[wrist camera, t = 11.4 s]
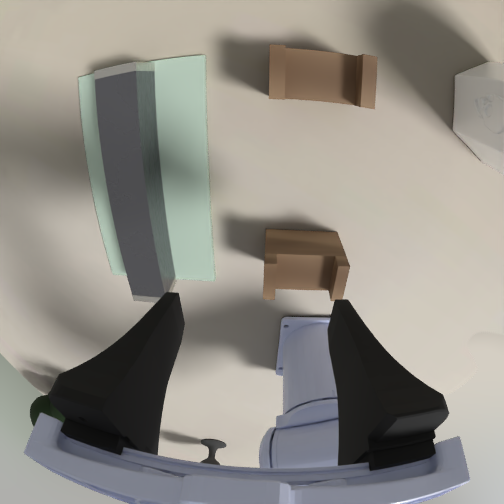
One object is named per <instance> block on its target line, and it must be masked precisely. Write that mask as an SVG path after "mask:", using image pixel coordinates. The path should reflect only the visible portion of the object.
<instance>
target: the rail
mask: <svg viewBox="0 0 504 504" xmlns="http://www.w3.org/2000/svg"><path fill="white" fill-rule="evenodd" d="M94 80H95V93H96V107H97V118H98V128H99V137H100V145H101V153H102V160H103V167H104V173H105V179H106V185H107V191H108V196H109V201H110V207H111V212H112V216H113V221H114V226H115V230H116V235H117V239H118V243H119V247H120V251H121V255H122V259H123V263H124V267H125V270H126V274H127V278H128V281H129V285H130V288H131V291H132V296H133V299H134V301H144V302H154V303H157V301H158V300H159V299H160V298H161V297H162V296H163V295H164V294H165V293H166V292H172V291H173V288H174V286H175V284H176V281H177V280H176V275H175V270H174V264H173V258H172V252H171V246H170V239H169V232H168V225H167V218H166V210H165V202H164V194H163V185H162V176H161V166H160V156H159V144H158V131H157V117H156V98H155V63H147V62H137V61H136V62H131V63H126V64H121V65H116V66H112V67H108V68H104V69H100V70H96V71H94Z"/></svg>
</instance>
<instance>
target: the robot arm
mask: <svg viewBox="0 0 504 504" xmlns="http://www.w3.org/2000/svg"><path fill="white" fill-rule="evenodd" d="M184 325H185V322H184V317H183V312H182V308H181V302H180V297H179V293H173V292H166V293H165V294H164V295H163V296H162V297H161V298H160V299H159V300H158V301H157V303H156V304H155V305H154V306H153V307H152V308H151V309H150V310H149V311H148V312H147V313H146V314H145V315H144V316H143V318H142V319H141V320H140V321H139V322H138V323H137V324H136V325H135V326H133V327H132V328H131V329H130V330H129V331H128V332H127V333H126V334H125V335H124V336H123V337H121V338H120V339H119V340H118V341H117V342H115V343H114V344H113V345H111V346H110V347H109V348H107V349H106V350H104V351H103V352H101V353H100V354H98V355H97V356H95V357H94V358H92V359H90V360H88V361H87V362H85V363H83V364H81V365H79V366H77V367H75V368H73V369H70V370H68V371H66V372H64V373H61V374H59V376H58V378H57V379H56V381H55V383H54V385H53V387H52V390H51V392H50V394H49V400H50V402H51V403H52V404H53V406H54V407H55V408H56V409H57V410H58V411H59V412H60V413H61V414H62V415H63V416H64V417H65V420H64V423H63V422H61V421H60V420H58V419H56V418H53V417H51V416H48V415H46V414H44V413H40V415H39V417H38V419H37V421H36V424H35V426H34V428H33V431H32V433H31V436H30V438H29V440H28V443H27V446H26V449H25V451H24V453H25V454H26V455H27V456H28V457H30V458H31V459H33V460H34V461H36V462H38V463H39V464H41V465H42V466H44V467H45V468H47V469H48V470H50V471H52V472H54V473H56V474H58V475H60V476H62V477H64V478H66V479H68V480H71V481H73V482H75V483H77V484H79V485H82V486H84V487H87V488H89V489H91V490H94V491H96V492H99V493H101V494H104V495H107V496H110V497H112V498H115V499H117V500H121V501H124V502H127V503H129V504H417V503H421V502H424V501H427V500H430V499H432V498H436V497H438V496H441V495H443V494H445V493H447V492H450V491H452V490H454V489H456V488H458V487H460V486H461V485H464V484H465V483H467V482H469V481H470V477H469V472H468V468H467V464H466V459H465V455H464V451H463V447H462V444H461V440H460V437H459V436H457V437H454V438H451V439H448V440H445V441H441V442H438V443H436V444H435V445H434V443H433V439H434V438H435V432H434V430H435V429H436V428H437V427H438V426H439V425H440V424H442V423H443V422H444V421H445V419H446V418H447V417H448V414H449V411H448V408H447V405H446V401H445V399H444V396H443V394H441V393H439V392H437V391H436V390H434V389H432V388H431V387H429V386H427V385H426V384H425V383H423V382H422V381H420V380H419V379H418V378H416V377H415V376H414V375H412V374H411V373H410V372H409V371H407V370H406V369H405V368H404V367H403V366H402V365H400V364H399V363H398V362H397V361H396V360H395V359H394V358H393V357H392V356H391V355H390V354H389V353H388V352H387V351H386V350H385V349H384V347H383V346H382V345H381V344H380V343H379V342H378V340H377V339H376V338H375V337H374V335H373V334H372V333H371V331H370V330H369V329H368V328H367V326H366V325H365V323H364V322H363V321H362V319H361V318H360V316H359V315H358V314H357V312H356V311H355V309H354V308H353V306H352V305H351V303H350V302H349V301H348V300H343V299H335V302H334V306H333V310H332V314H331V318H324V317H284V318H282V320H281V329H280V338H279V347H278V356H277V364H276V374H277V375H279V376H283V415H280V416H277V417H276V427H271V428H270V429H268V431H267V432H266V434H265V435H264V437H263V438H262V441H261V444H260V450H259V464H260V468H249V467H234V466H223V465H214V464H206V463H198V462H191V461H185V460H179V459H174V458H168V457H163V456H158V443H159V433H160V424H161V417H162V411H163V404H164V399H165V394H166V389H167V385H168V381H169V378H170V374H171V371H172V368H173V365H174V362H175V359H176V356H177V353H178V350H179V347H180V344H181V340H182V335H183V330H184ZM285 325H287V326H285ZM176 476H178V477H176Z"/></svg>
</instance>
